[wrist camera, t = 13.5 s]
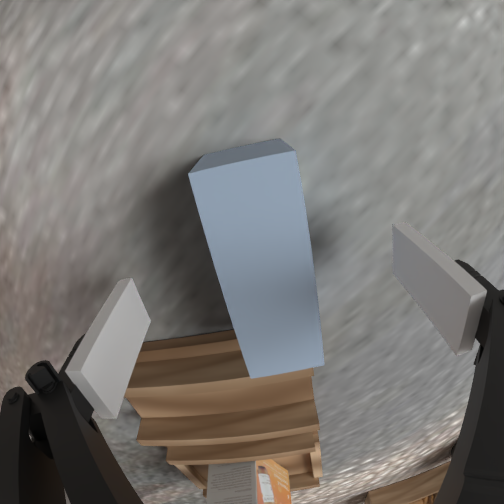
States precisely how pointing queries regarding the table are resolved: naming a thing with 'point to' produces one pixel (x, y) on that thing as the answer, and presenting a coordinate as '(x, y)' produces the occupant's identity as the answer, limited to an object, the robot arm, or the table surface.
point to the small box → (248, 483)
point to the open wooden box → (410, 488)
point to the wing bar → (262, 253)
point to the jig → (223, 409)
